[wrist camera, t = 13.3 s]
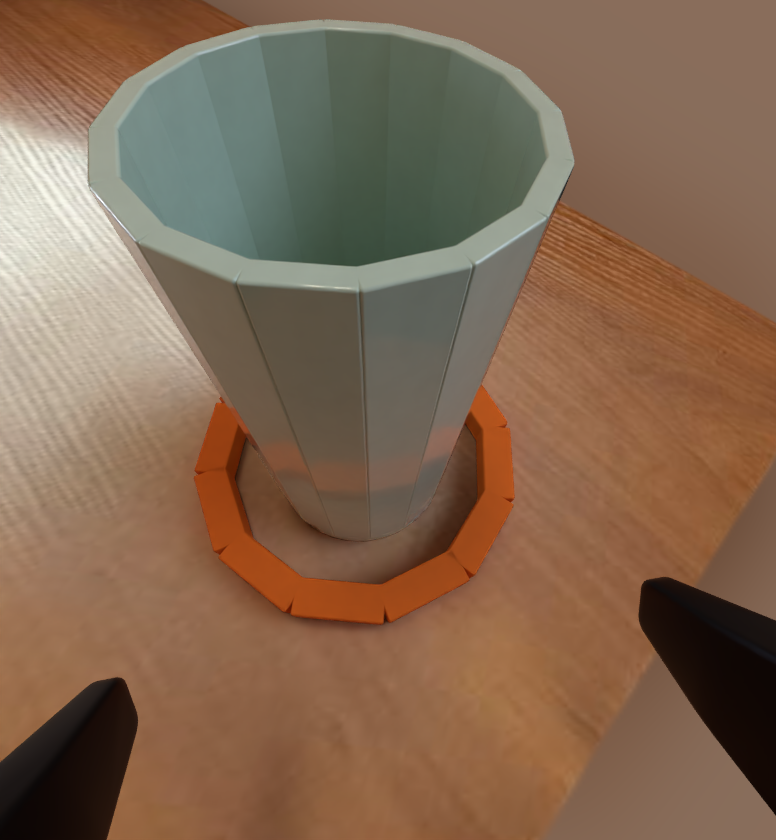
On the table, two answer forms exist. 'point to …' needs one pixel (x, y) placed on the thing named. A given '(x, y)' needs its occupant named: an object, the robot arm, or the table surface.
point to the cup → (336, 241)
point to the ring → (341, 596)
